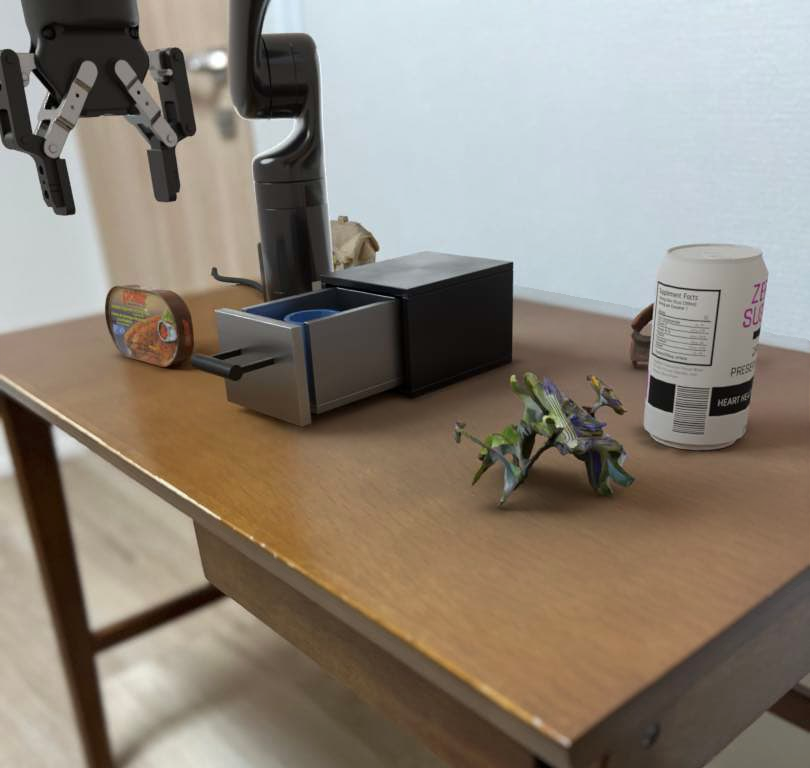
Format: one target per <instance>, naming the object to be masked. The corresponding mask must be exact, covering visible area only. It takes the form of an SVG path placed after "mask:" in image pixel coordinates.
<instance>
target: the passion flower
mask: <svg viewBox="0 0 810 768" xmlns="http://www.w3.org/2000/svg"><path fill="white" fill-rule="evenodd" d="M516 377H517V376H516V374H512V375H511V376H510V388H511V390H512V392H513V393H514V394H515V395H517V396H518V397H519V398H520V399H521V400H522V403H523V405H524V411H523V417H522V419H520V421H518V425H514V424H513V423H512V424H506V425H505V426H504V427H503V429H502V430H501V432H493V433H490V434H488V435H487V436H486V437H485V439H484V441H483V442H482V440H480V439H479V438H478V437H476V436H473V435H471V434H470V433H468V431H465V430H464V429H465V427H466V426H467V423H466V422H465V421H462V420H460V419H458V420H457V421H455V422H454V425H455V427H454V433H453V440H454V442H455V443H456V444H460V443H461V441H462V440H461V437H462V435H463V436H465V437H466V438H468V439H470V440H471V441H472V442H474V443H476V444H478V445H480V446H481V450H480V452H479V454H478V457H477V459H478V460H479V461H481V464H480V466H479V467H478V468H477V469H476V471H475V472H474V474H473V475H472V477H471V484H470V486H472V487H474V486H475V485H476V484H477V482H478V481H480V478H481V477H482V476H483V474H485V472H487V470H488V469H489V468H491V467H492V466H494V465H495V464H496V462H497V461H499V462H501V463H502V464H503V465H504V475H503V484H504V485H503V490H502V494H501V497H500V500H499V502H498V503H497V505H496V508H497V509H498V510H499V509H500V508H501V506H502V505H504V503H505V502H506V500H507V499H508V497H509V496H510V494H511V493H512V492H513V491H516V490H517V489H519V488H520V486H521V485H523V484H524V483H525V481H526V480H527V479H528V477H529V470H530V469H531V468H532V467H533V465H534V464H535V462H536V461H537V460H538V459H539V458H540V456H541V455H542V454H543V453H544V452H545V451H548V450H549V449H551V448H555V449H557V450H558V453H559V454H560V455H561V456H566V455H573V457H575V458H576V459H577V460H579V461H581V462H584V466H585V469H586V473H587V481H588V484H589V486H590V487H591V489H592V491H593V492H594V493H595V494H598V495H602V496H604V497H608V498H609V499H612V498H614V495H615V493H614V492H613V489H612V487H611V486H610V485H609V483H610V479H611V480H612V482H614V483H615V484H617V485H619V486H621V487H624V488H629V487H630V486H632V484H633V483H634V482H635V480H636V477H635V476H633V475H632V474H630V473H629V472H628V471H627V470H626V469H625V468H624V467H623V466H624V464H625V463H626V461H627V459H628V455H627V452H626V451H625V450H624V445H623V444H620V443H619V441H618V440H616V439H614V438H612V436H610V434H608V433H607V432H606V431H605V430H604V428H605V427H607V425H608V423H607V422H605V421H604V422H602V421H600V420H599V419H598V418H596V415H595V414H596V412H597V411H598V409H600V408H601V407H609V408H611V409H612V410H613V411H614V413H615V414H617V415H619V416H623V415H625V413H628V409H626V408H624V407H623V404H622V402H621V401H620V399H619V397H617V395H616V394H615V392H614V388H612V387H610V386H608V385H607V384H605V383H604V382H603V381H602V380H601V379H599V378H597V376H594V375H592V374H587V375H586V381H587V383H588V384H589V385H590V387H591V388H592V389H593V390H594V391H595V393H596V394H597V398H596V399H595V402H593V404H592V405H588V406H586V405H578V404H577V403H576V402H575V401H573V399H572V398H571V397H570V396H568V395H567V394H566V393H564V391H563V390H562V389H561V390H560V389H559V388H558V387H557V386H556V384H555V383H554V381H553V380H549V378H547V376H543V381H544V383H543V382H540V380H539V379H538V377H537V375H536V374H534V373H533V372H527V371H526V372H525V374H524V375H523V383H524V385H523V384H522V383H520V382H518V381H517V378H516ZM537 435H539V436H543V437H544V438H547V440H545V441H544V442H543V443H542V445H541V446H540V447H539V448H538V449H537V451H535V453H534V454H533V449H534V446H535V444H536V436H537ZM507 454H510V455H511V456H512V462H511V461H509V460H508V459H507V458H506V457H505V456H506V455H507ZM532 454H533V455H532Z"/></svg>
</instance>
